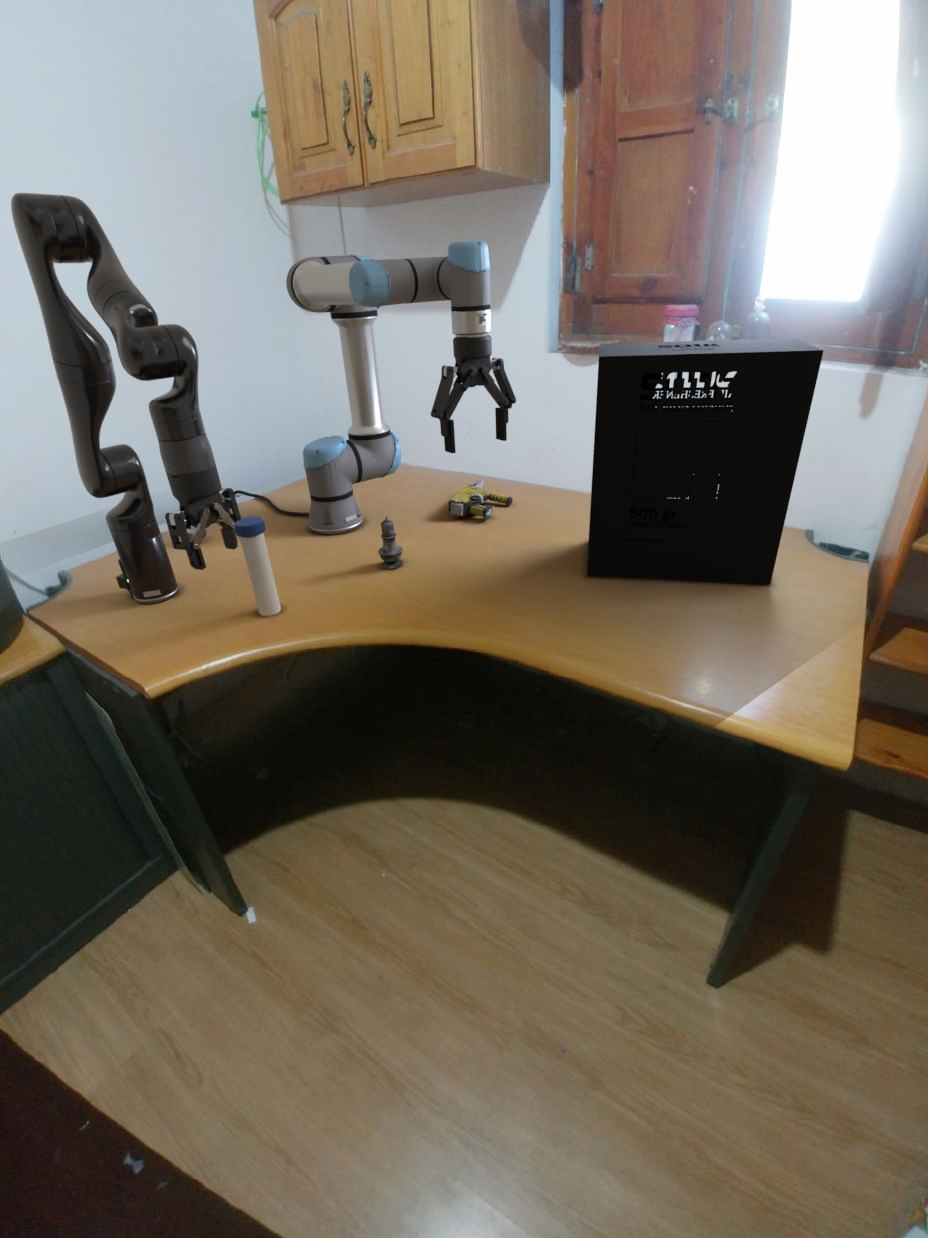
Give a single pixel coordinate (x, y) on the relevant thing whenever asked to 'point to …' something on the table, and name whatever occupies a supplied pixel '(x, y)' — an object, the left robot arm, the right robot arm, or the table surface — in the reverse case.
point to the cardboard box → (696, 457)
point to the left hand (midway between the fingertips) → (216, 558)
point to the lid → (249, 526)
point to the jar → (261, 574)
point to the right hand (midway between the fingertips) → (476, 445)
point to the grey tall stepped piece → (389, 546)
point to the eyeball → (202, 536)
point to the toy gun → (475, 501)
